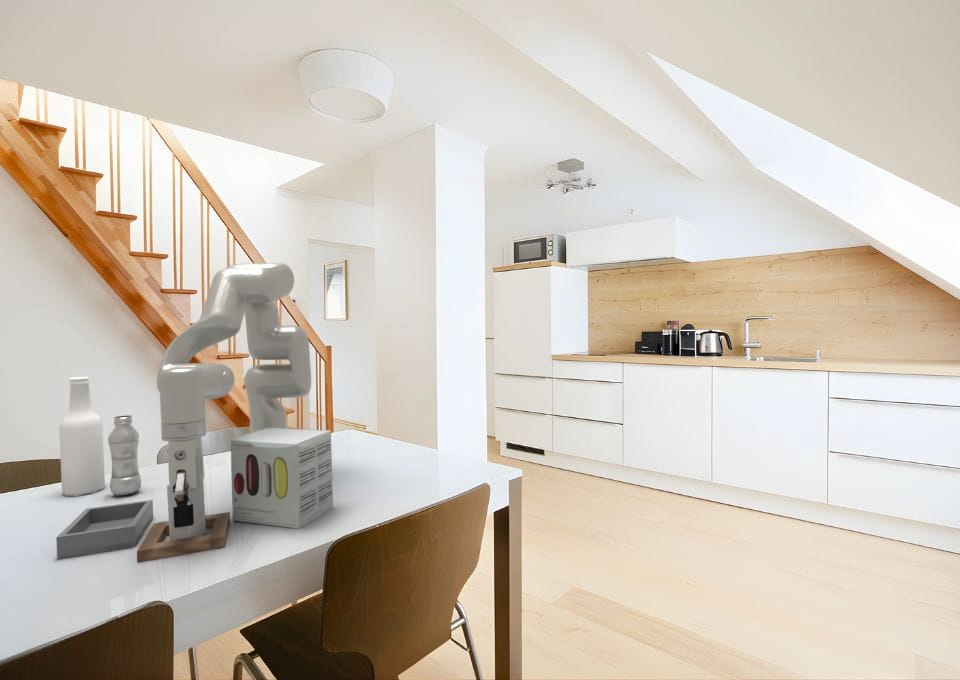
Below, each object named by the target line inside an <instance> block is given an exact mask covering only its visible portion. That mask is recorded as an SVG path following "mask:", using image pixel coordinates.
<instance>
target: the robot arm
mask: <svg viewBox="0 0 960 680" xmlns="http://www.w3.org/2000/svg"><path fill="white" fill-rule="evenodd" d="M294 285H295V277H294V273H293V270H292V268H291V267H289V265H287V264H285V263H282V262H281V263H279V262H278V263H277V262H276V263H275V262H273V263H272V262H270V263H269V262H268V263H262V262H261V263H256V262H255V263H250V262H249V263H236V264H231V265H228V266H227V267H226V268H223V269H220V270H218V271H217V272H216V273H215V274H214V275H213V278H212V281H211V284H210V286H209V289H208V292H207V295H206V299H205V301H204V304H203V308H202V310H201V314H200V316H199V319H198V320H197V321H195V322H193V324H192V323H191V325H190V326H188V327H187V328H185V330H183V331H182V332H181V333H179V334H178V335H177V337H175V338H174V339H173V340H172V341H171V342H170V344H169V345H168V346H167V348H166V350H165V351H164V353H163V357H162V359H161V362H160V364H159V365H160V366H159V369H158V371H157V375H156V387H157V390H158V393H159V404H160V407H159V408H160V409H159V410H160V431H161V432H160V433H161V434H160V435H161V441H163V442H167V446H168V447H167V450H168V451H167V456H168V457H167V459H168V460H167V462H168V463H167V464H168V483H169V484H168V485H169V486H170V491H171V492H173V493H174V507H173V510H174V527H175V528H179V527H185V526H192V525H193V524H194V512H193V504H191V499H192V489H193V488H195V490H197V489H198V488H199V487H200V486H201V484H202V482H203V483H204V479H205V467H204V453H203V451H204V450H203V441H202V438H203V437H206V435H207V432H206V431H207V430H206V429H207V426H206V402H205V401H206V400H209V399H211V400H212V399H213V400H214V399H215V400H216V399H220V398H223V397H224V396H225V397H226V395H228V394H229V393H230V392H231V391H232V389H233V387H234V385H235V374H234V373H233V371H232V368H230V367H229V366H227V365H225V364H223V363H214V362H213V363H212V362H210V363H208V362H206V363H204V362H203V363H199V362H195V363H190V361H191V360H192V358H194V357H195V356H196V355H197V354H198V353H200V352H201V351H203V350H205V349H207V348H209V347H211V346H215V345H216V344H219V343H222V342H223V341H226V340H229V339H230V338H232V337H233V338H234V336H236V335H237V334H238V333H239V332H240V330H241V327H242V324H243V320H245V328H246V330H245V331H246V343H247V349H248V353H249V356H250V357H252V358H253V359H255V360H258V361H260V360H261V361H275V360H276V361H278V360H279V361H280V360H282V361H284V360H285V361H286V360H288V361H289V363H283V364H282V363H270V364H268V363H266V364H257V365H255V366H254V365H253V366H252V367H250V368H249V369H248V370H247V371H246V373H245V375H244V388H245V392H246V396H247V401H248V409H249V434H250V433H253V432H256V431H260V430H263V429H267V428H286V429H288V427H287V426H288V425H287V421H288V420H287V412H286V409H285V407H284V405H283V404H282V403H281V401H280V400H279V399H285V398H289V399H292V398H295V399H296V398H303V397H305V396H308V394H309V393H310V391H311V388H312V370H311V354H310V353H311V352H310V342H309V337H308V334H307V332H306V330H305V329H304V328H303V327H302V326H299V325H293V324H292V325H282V324H280V317H279V316H280V315H279V308H278V306H277V303H276V301H278V300H281V299H282V298H284V297H287V296H288V295H289V294H290V293H291V292H292V290H293V289H294ZM244 318H245V319H244ZM185 477H186V478H185ZM187 484H189V488H187V489H184V486H185V485H187ZM174 485H175V488H173V486H174ZM174 490H175V491H174ZM187 492H188V496H187V495H186V494H184V493H187ZM187 498H188V499H187Z"/></svg>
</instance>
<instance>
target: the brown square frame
mask: <svg viewBox="0 0 960 680" xmlns="http://www.w3.org/2000/svg"><path fill="white" fill-rule="evenodd" d="M205 524H206V530H208V529H211V532H210V533H209V534H203V535H202V536H197V537H191V538H184V539H178V540H172V541H170V540H166V541H164V540H165V538H166V536H168V535H167V534H169V520H166V521H159V522H154V523H153V524H152V525H151V527H150V529H149V530H148V532H147V533H146V535H145V537H144V538H143V540H142V542H141V544H140V545H139V546H138V549H137V550H136V562H137V563H140V562H147V561H150V560H157V559H163V558H170V557H175V556H181V555H186V554H187V555H188V554H193V553H199V552H204V551H210V550H217V549H222V548H225V546H226V542H227V539H228V538H227V537H228V533H229V529H230V524H231V512H230V511H228V512H227V511H226V512H221V513H220V512H219V513H214V514H205ZM165 535H166V536H165ZM164 537H165V538H164ZM163 539H164V540H163ZM162 541H163V542H162Z"/></svg>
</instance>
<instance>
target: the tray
mask: <svg viewBox="0 0 960 680" xmlns="http://www.w3.org/2000/svg"><path fill="white" fill-rule="evenodd" d="M152 518H153V519H154V502H153V499H149V500H140V501H133V502H126V503H120V504H119V503H118V504H111V505H103V506H96V507H95V506H94V507H87V508H85V509H84V510H83V511H82V512H81V513H80V514H79V515H78V516H77V517H76V518H75V519H74V520H73V521H72V522H71V523H70V524H69V525H68V526H67V527H66V528H64V530H62V532H60V533H59V534H58V535H57V536H56V556H57V560H60V559H66V558H73V557H77V556H79V557H80V556H84V555H92V554H96V553H97V554H98V553H103V552H109V550H110V551H115V549H116V550H121V549H128V547H129V548H134V547H133V546H135V547H137V544H138V543H139V542H140V540H139V539H141V538H142V536H143V535H144V533H145V532H146V530H147V528H148V527H147V526H149V525H150V524H149V523H151V522H152V520H153V519H152ZM151 519H152V520H151ZM150 521H151V522H150ZM144 531H145V532H144ZM137 542H138V543H137Z"/></svg>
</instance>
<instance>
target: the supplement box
mask: <svg viewBox="0 0 960 680" xmlns="http://www.w3.org/2000/svg"><path fill="white" fill-rule="evenodd" d="M332 449H333V448H332V430H329V429H328V430H324V429H323V430H322V429H305V428H304V429H302V428H287V429H286V428H267V429H263V430H260V431H256V432H253V433H250V432H249V433H247V434H244V435H241V436H238V437H234V438H231V439H230V463H231V466H230V470H231V472H230V473H231V501H232V503H231V504H232V505H231V506H232V521H233V522H243V523H253V524H258V525H267V526H274V527H275V526H276V527H283V528H290V529H295V530H296V529H301V528H303V527H305V526H306V525H308V524H310V523H312V522H313V521H314V520H317V518H319V517H320V516H322V515H324V514H325V513H327V512H328V511H329V510H331V509H332V508H334V488H333V487H334V486H333V485H334V484H333V457H332V456H333V455H332Z"/></svg>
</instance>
